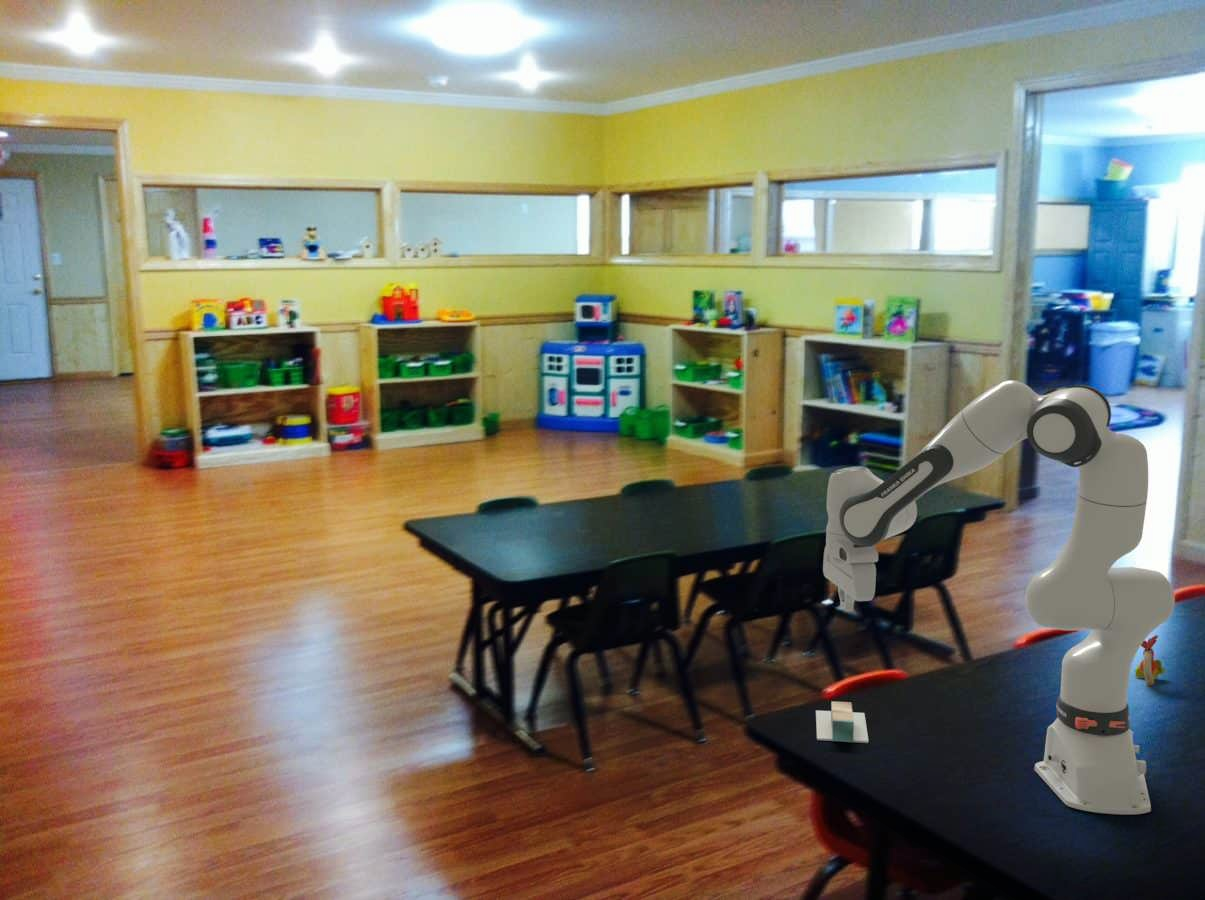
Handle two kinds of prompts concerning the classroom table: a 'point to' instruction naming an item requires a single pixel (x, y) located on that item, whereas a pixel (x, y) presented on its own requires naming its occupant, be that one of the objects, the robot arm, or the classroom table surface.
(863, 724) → the grey mat
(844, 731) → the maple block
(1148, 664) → the bird rattle
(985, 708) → the classroom table surface
